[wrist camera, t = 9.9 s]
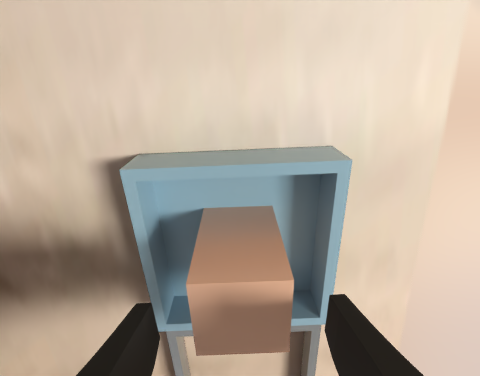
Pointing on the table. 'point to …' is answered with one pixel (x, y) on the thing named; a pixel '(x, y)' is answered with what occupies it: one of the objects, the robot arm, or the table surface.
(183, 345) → the charcoal square frame
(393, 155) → the table surface
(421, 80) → the table surface
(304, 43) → the table surface
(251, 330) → the terracotta block
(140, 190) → the slate-blue tray
